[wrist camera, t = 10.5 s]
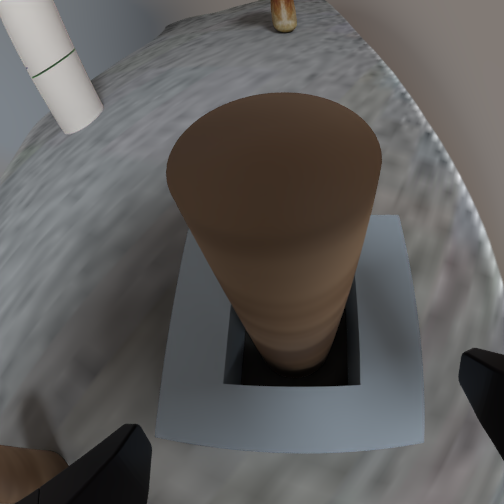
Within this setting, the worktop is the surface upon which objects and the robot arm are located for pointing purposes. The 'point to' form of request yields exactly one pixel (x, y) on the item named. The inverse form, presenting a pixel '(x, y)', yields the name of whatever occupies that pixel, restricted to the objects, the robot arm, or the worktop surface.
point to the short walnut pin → (26, 471)
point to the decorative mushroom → (283, 15)
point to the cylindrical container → (51, 61)
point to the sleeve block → (298, 398)
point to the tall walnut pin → (280, 215)
